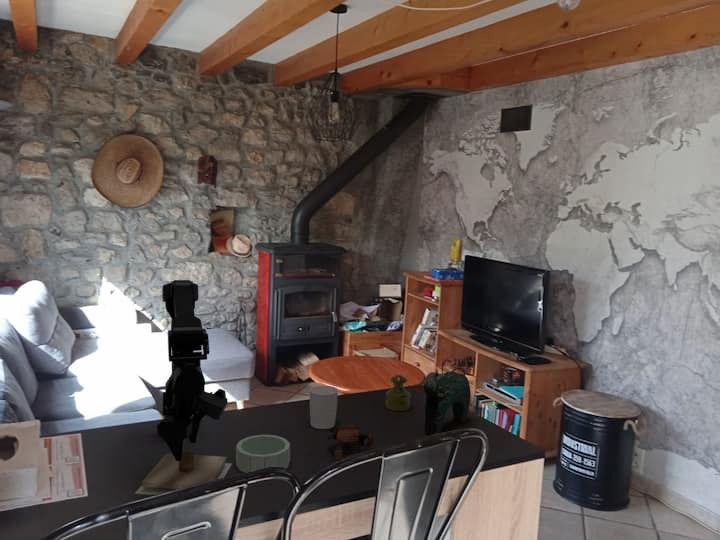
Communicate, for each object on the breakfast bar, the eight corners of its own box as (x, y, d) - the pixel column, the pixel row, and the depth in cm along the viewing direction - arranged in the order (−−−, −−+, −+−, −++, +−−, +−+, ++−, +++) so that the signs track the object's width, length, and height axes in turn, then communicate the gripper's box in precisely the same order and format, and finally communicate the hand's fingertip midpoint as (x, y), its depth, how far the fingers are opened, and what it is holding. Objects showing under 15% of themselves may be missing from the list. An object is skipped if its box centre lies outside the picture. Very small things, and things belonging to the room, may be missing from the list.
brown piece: (322, 462, 142) (321, 427, 145) (336, 464, 150) (334, 431, 154) (370, 456, 139) (367, 421, 142) (381, 459, 147) (378, 425, 151)
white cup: (333, 431, 160) (334, 395, 158) (304, 428, 161) (305, 392, 160) (339, 421, 167) (341, 386, 166) (312, 418, 169) (313, 384, 168)
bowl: (230, 476, 132) (230, 454, 131) (243, 453, 144) (243, 433, 143) (284, 479, 132) (284, 457, 131) (292, 456, 143) (293, 436, 143)
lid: (141, 491, 123) (141, 467, 122) (166, 461, 137) (166, 440, 136) (208, 495, 122) (208, 471, 122) (226, 465, 136) (226, 443, 135)
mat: (134, 496, 122) (134, 493, 122) (163, 462, 138) (163, 459, 138) (211, 500, 121) (211, 498, 121) (232, 465, 137) (232, 463, 137)
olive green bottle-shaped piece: (402, 413, 175) (404, 380, 174) (380, 408, 179) (382, 375, 178) (414, 406, 181) (415, 375, 180) (393, 401, 185) (394, 370, 184)
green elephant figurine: (435, 440, 156) (439, 366, 154) (414, 433, 160) (418, 361, 158) (473, 421, 171) (477, 353, 169) (453, 415, 175) (457, 349, 173)
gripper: (210, 398, 117) (210, 473, 119) (235, 371, 136) (234, 436, 138) (155, 395, 118) (155, 470, 120) (187, 368, 136) (186, 433, 138)
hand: (186, 451), depth 129 cm, fingers open, 9 cm apart
